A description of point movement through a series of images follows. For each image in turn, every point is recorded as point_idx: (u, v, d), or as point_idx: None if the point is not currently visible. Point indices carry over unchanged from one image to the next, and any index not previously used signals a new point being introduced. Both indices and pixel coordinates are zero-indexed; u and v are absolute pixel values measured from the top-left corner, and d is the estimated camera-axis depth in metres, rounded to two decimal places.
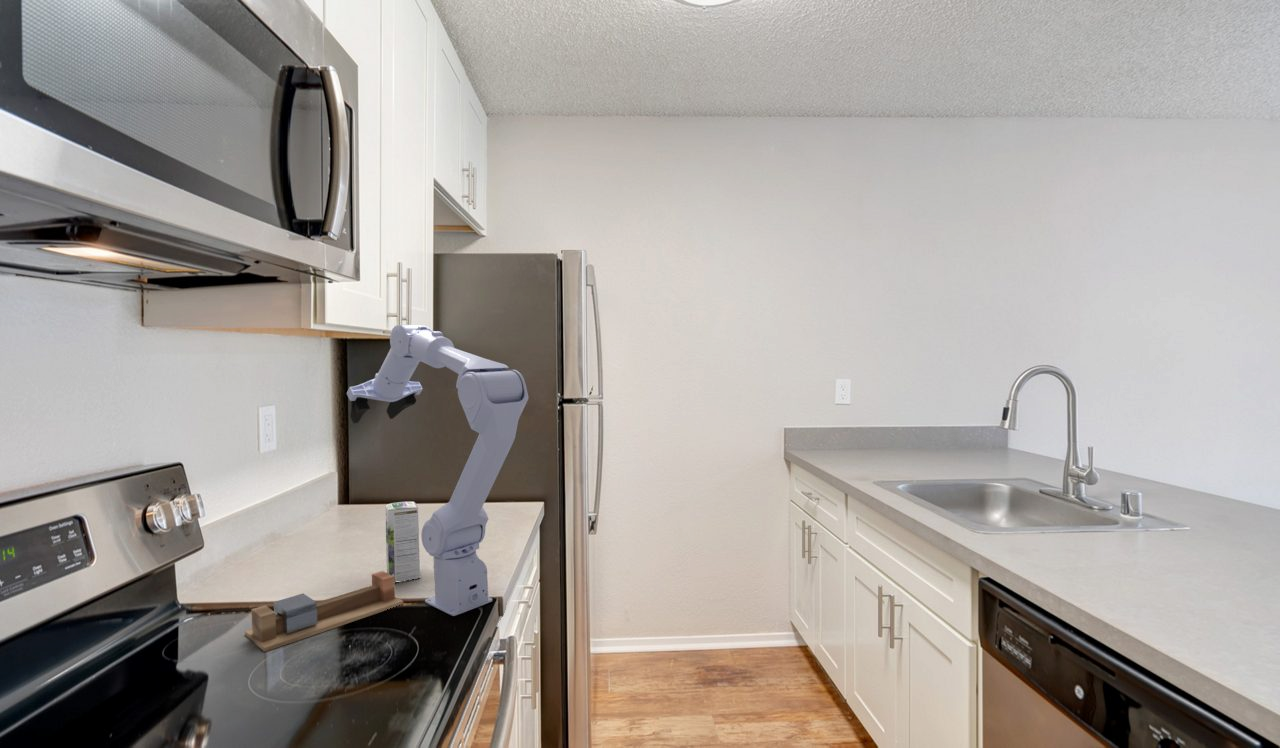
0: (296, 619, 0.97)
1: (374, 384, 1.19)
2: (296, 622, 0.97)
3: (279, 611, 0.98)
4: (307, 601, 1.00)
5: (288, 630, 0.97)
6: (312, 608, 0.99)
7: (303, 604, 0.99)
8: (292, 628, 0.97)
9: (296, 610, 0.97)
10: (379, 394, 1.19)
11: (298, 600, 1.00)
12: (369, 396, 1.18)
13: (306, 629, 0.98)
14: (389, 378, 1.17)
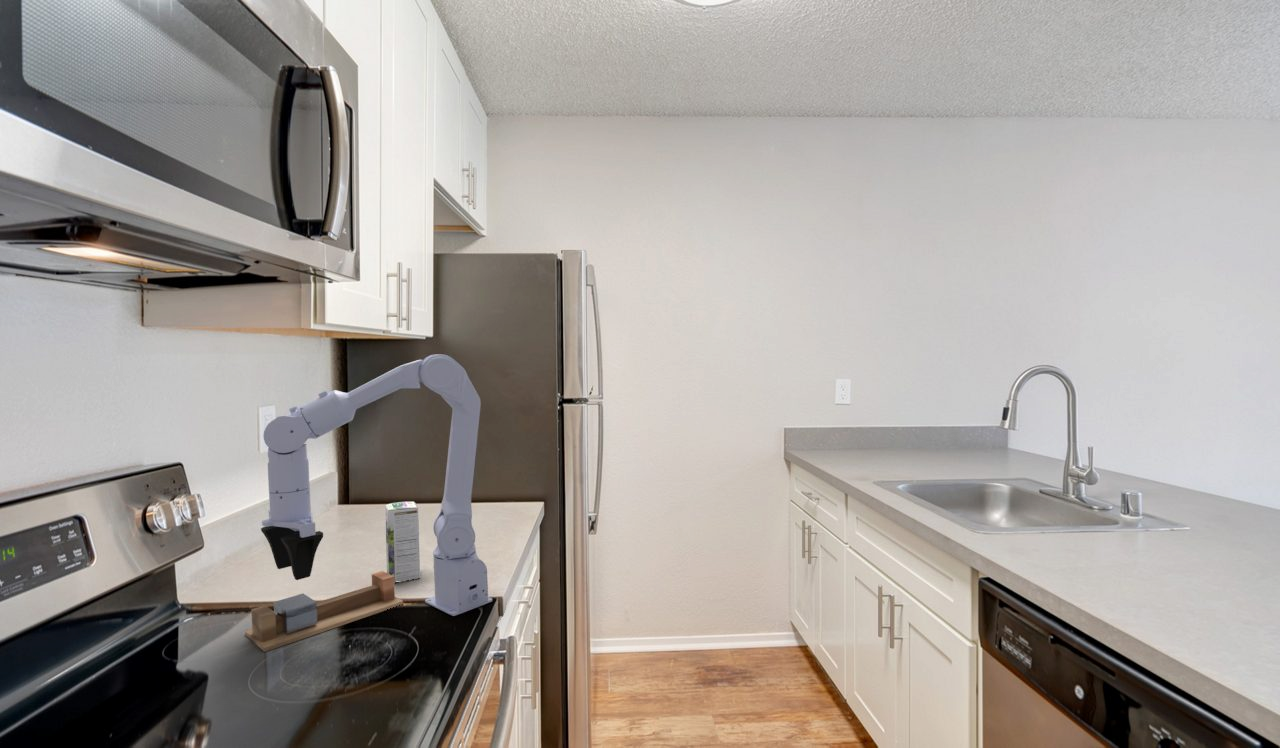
0: (296, 619, 0.97)
1: (293, 515, 0.97)
2: (296, 622, 0.97)
3: (279, 611, 0.98)
4: (307, 601, 1.00)
5: (288, 630, 0.97)
6: (312, 608, 0.99)
7: (303, 604, 0.99)
8: (292, 628, 0.97)
9: (296, 610, 0.97)
10: (307, 515, 0.99)
11: (298, 600, 1.00)
12: (312, 519, 0.98)
13: (306, 629, 0.98)
14: (300, 487, 0.98)
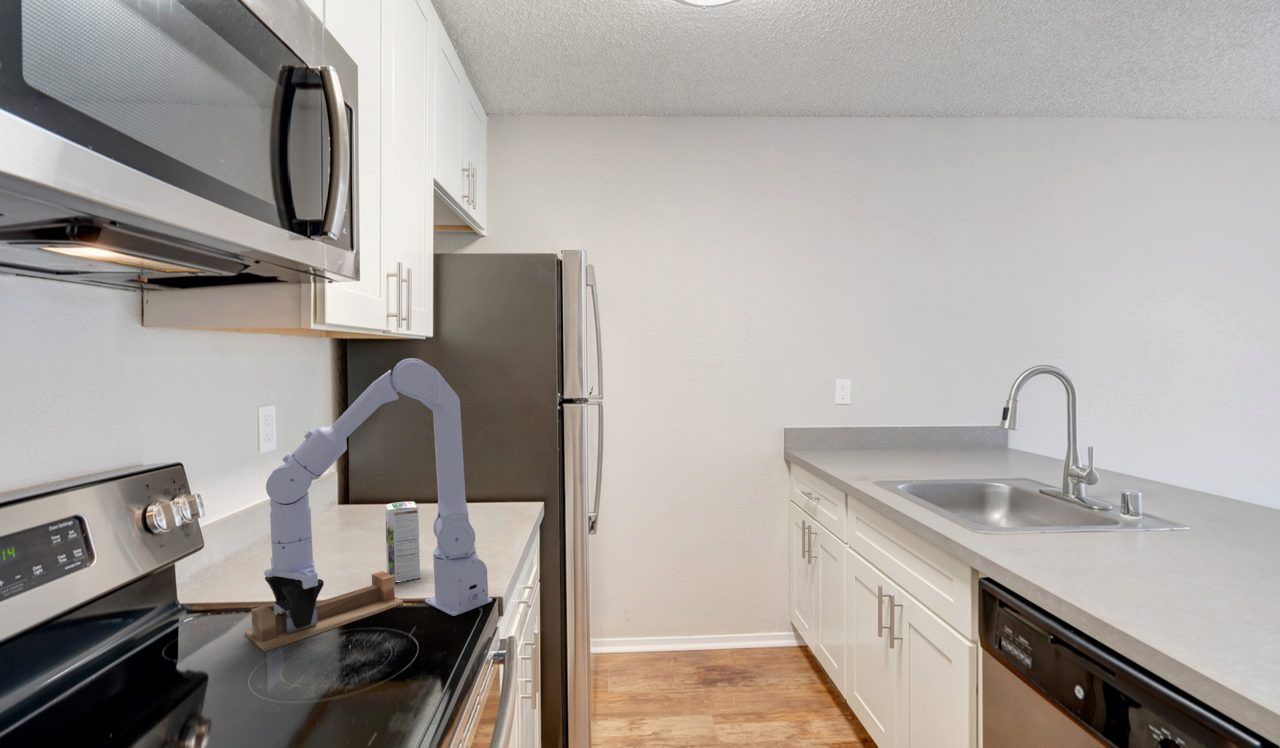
0: None
1: (296, 565, 0.97)
2: None
3: (279, 611, 0.98)
4: None
5: (288, 630, 0.97)
6: None
7: None
8: (292, 628, 0.97)
9: None
10: (309, 564, 0.99)
11: None
12: None
13: (306, 629, 0.98)
14: (302, 536, 0.98)
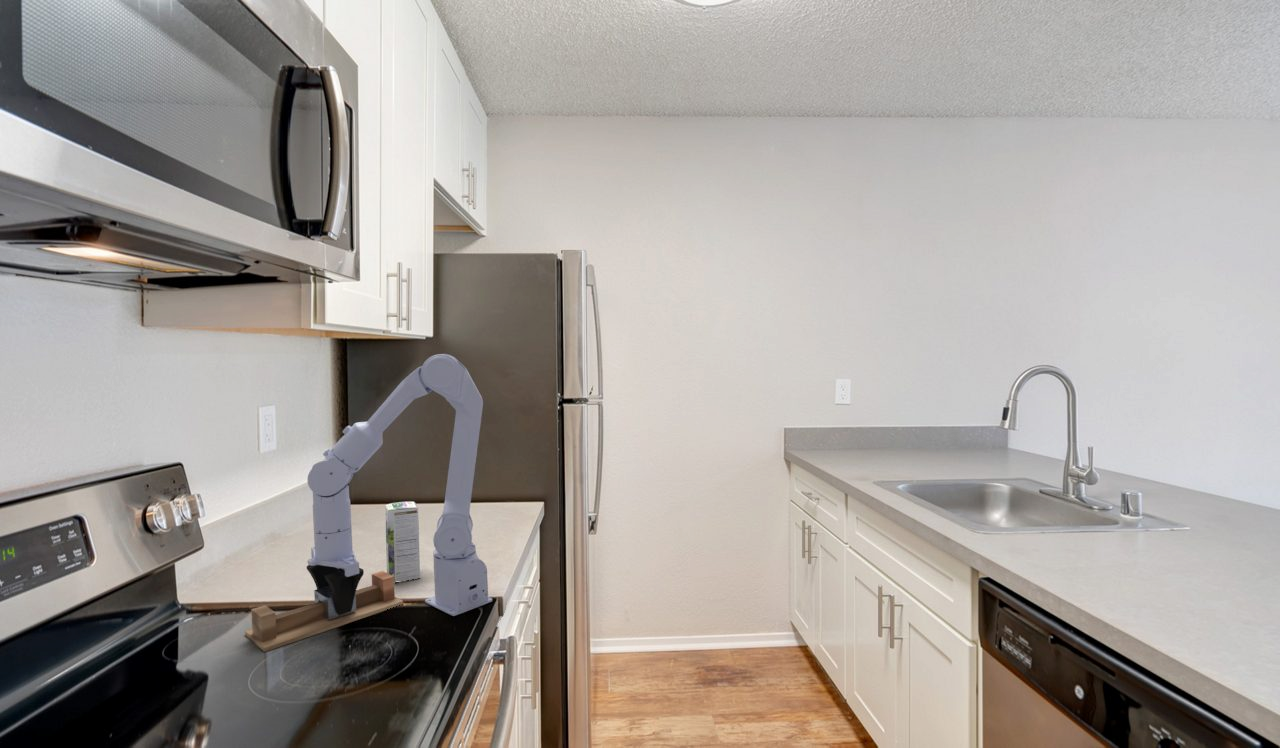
0: None
1: (337, 554, 1.02)
2: None
3: (320, 598, 1.03)
4: None
5: (329, 616, 1.01)
6: None
7: None
8: (333, 615, 1.02)
9: None
10: (349, 554, 1.04)
11: None
12: (355, 558, 1.03)
13: (306, 629, 0.98)
14: (341, 528, 1.02)
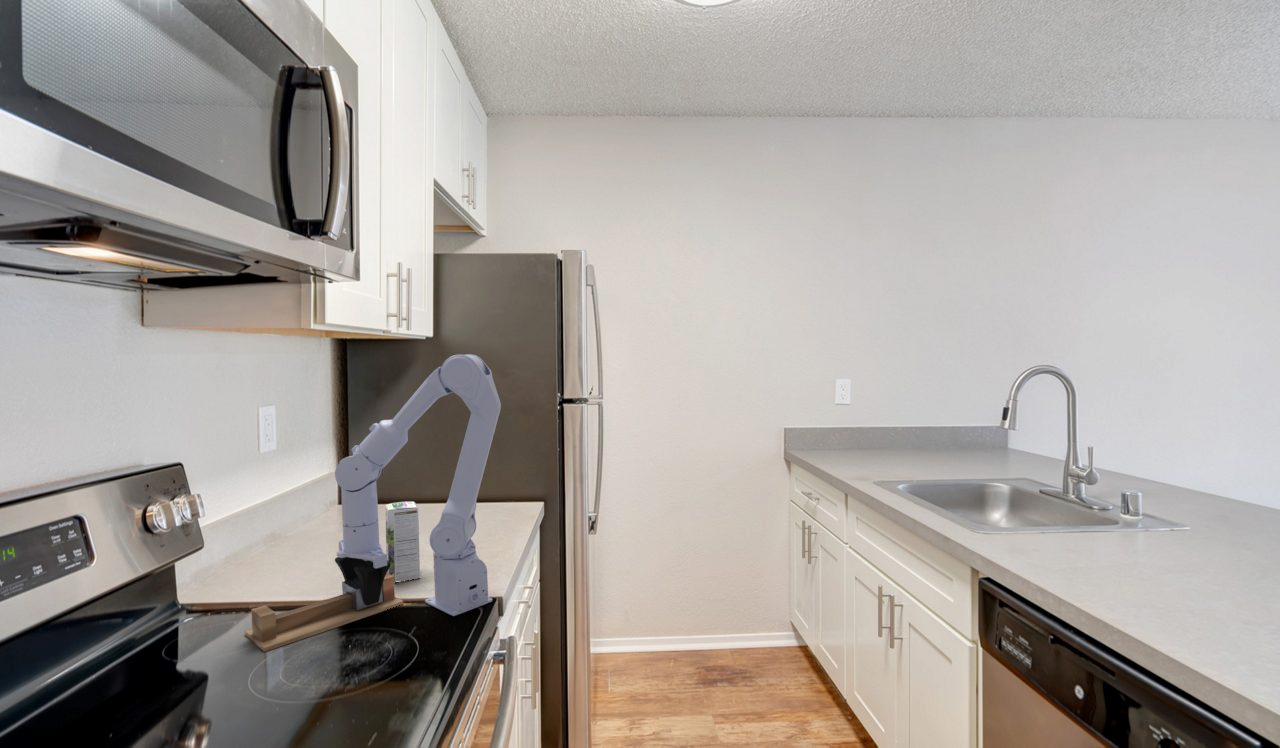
0: None
1: (365, 547, 1.06)
2: None
3: (348, 590, 1.06)
4: None
5: (358, 607, 1.05)
6: None
7: None
8: (361, 605, 1.05)
9: None
10: (376, 547, 1.07)
11: None
12: None
13: (306, 629, 0.98)
14: (366, 522, 1.06)
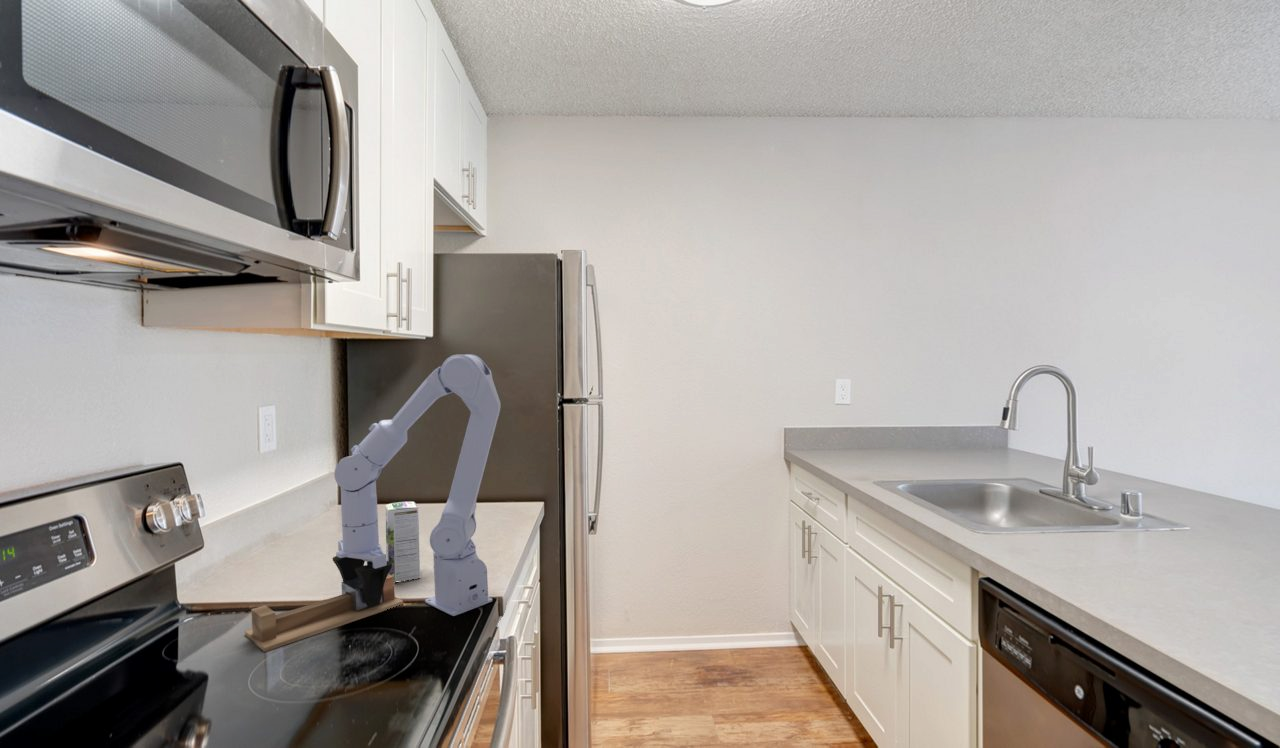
0: None
1: (365, 547, 1.06)
2: (364, 600, 1.05)
3: (348, 590, 1.06)
4: None
5: (357, 607, 1.05)
6: None
7: None
8: (360, 606, 1.05)
9: None
10: (376, 547, 1.07)
11: None
12: (381, 550, 1.06)
13: (306, 629, 0.98)
14: (366, 522, 1.06)
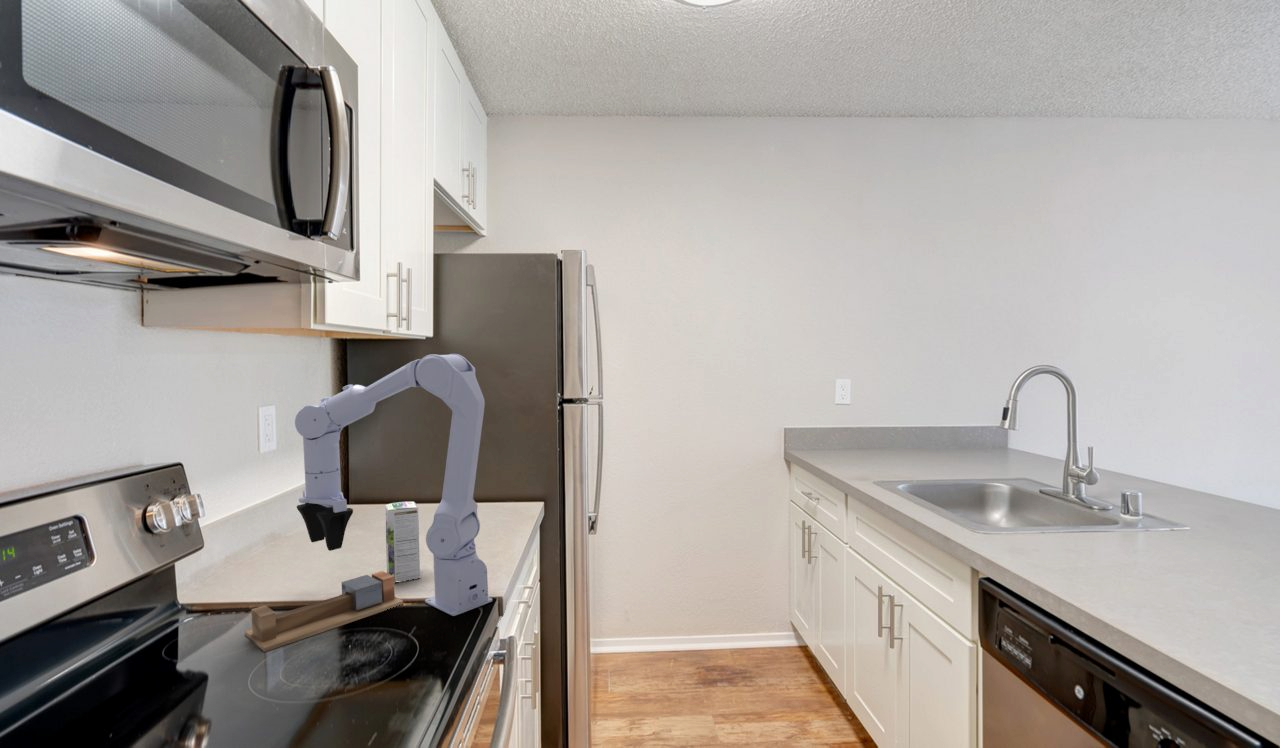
0: (364, 597, 1.05)
1: (326, 493, 1.09)
2: (364, 600, 1.05)
3: (348, 590, 1.06)
4: (372, 581, 1.08)
5: (357, 607, 1.05)
6: (378, 587, 1.07)
7: (370, 584, 1.07)
8: (360, 606, 1.05)
9: (364, 589, 1.05)
10: (338, 494, 1.11)
11: (364, 580, 1.08)
12: (343, 497, 1.10)
13: (306, 629, 0.98)
14: (324, 470, 1.09)
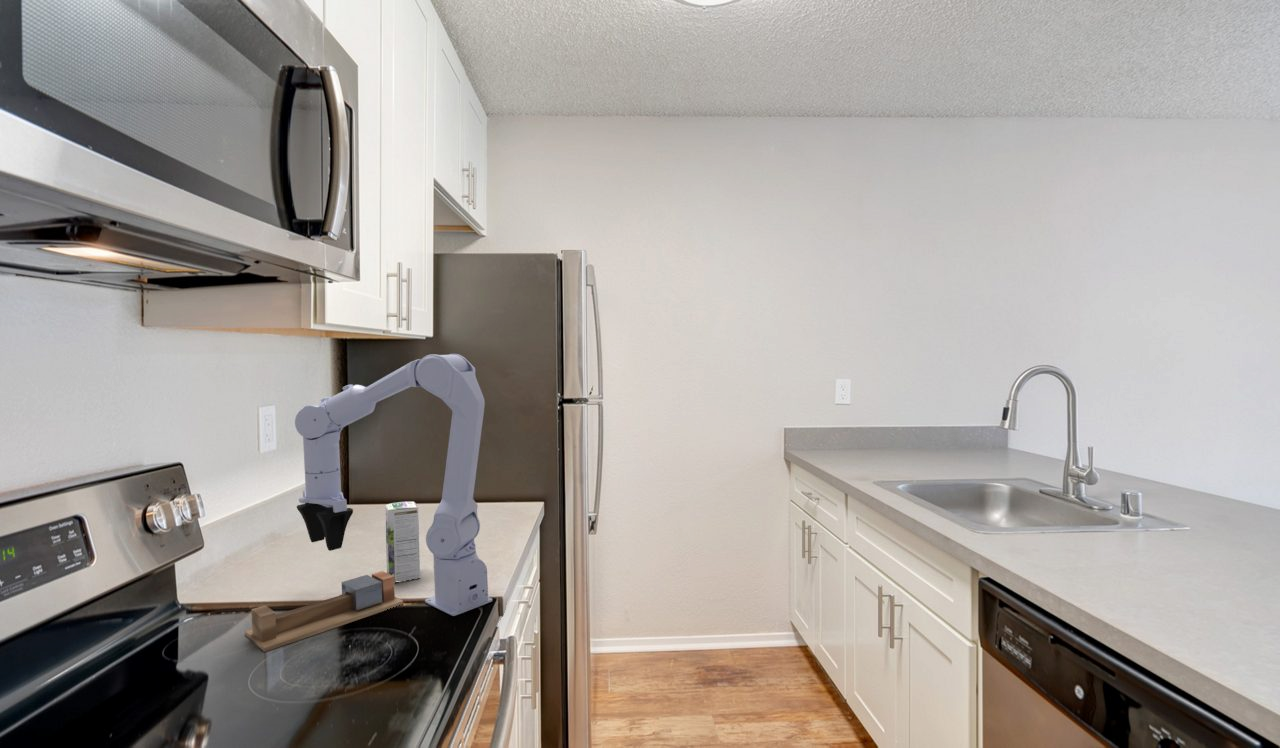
0: (364, 597, 1.05)
1: (326, 493, 1.09)
2: (364, 600, 1.05)
3: (348, 590, 1.06)
4: (372, 581, 1.08)
5: (357, 607, 1.05)
6: (378, 587, 1.07)
7: (370, 584, 1.07)
8: (360, 606, 1.05)
9: (364, 589, 1.05)
10: (338, 494, 1.11)
11: (364, 580, 1.08)
12: (343, 497, 1.10)
13: (306, 629, 0.98)
14: (324, 470, 1.09)
